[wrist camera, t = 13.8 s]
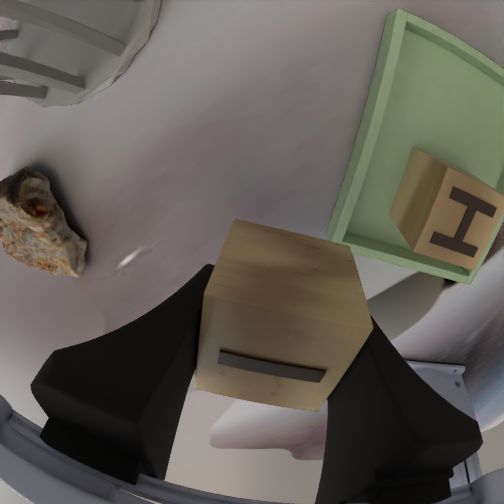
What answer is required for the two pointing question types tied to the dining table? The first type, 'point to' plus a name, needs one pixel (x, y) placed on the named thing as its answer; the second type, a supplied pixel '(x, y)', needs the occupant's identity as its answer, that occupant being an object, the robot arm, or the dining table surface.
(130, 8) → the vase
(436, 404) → the robot arm
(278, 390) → the wooden i block
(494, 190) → the wooden h block
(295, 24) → the dining table surface
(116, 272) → the dining table surface
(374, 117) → the tray
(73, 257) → the rock
